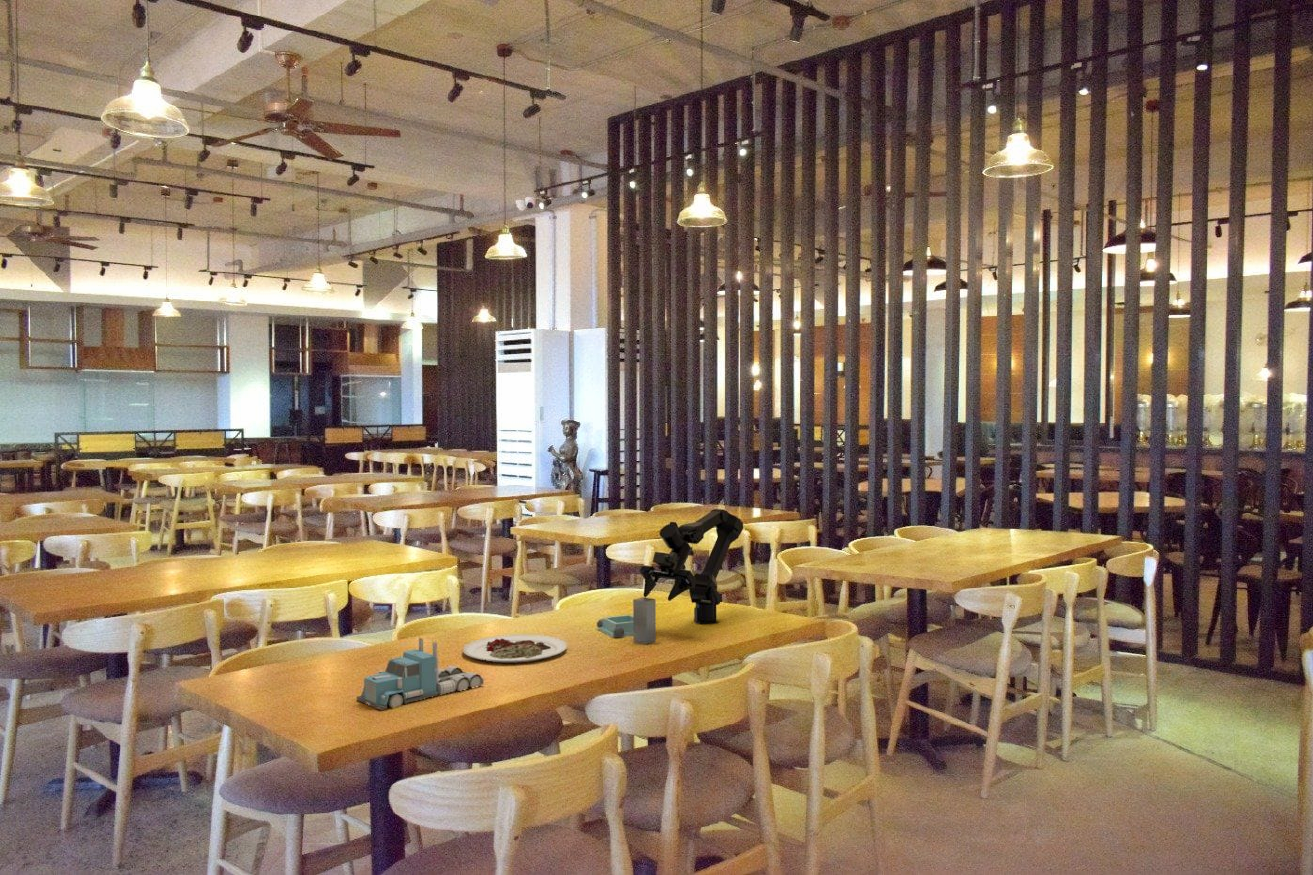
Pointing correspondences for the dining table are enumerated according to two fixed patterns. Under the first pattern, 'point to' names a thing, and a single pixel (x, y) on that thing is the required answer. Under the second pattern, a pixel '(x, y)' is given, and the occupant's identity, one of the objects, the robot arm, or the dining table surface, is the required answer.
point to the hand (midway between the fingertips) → (656, 598)
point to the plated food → (515, 648)
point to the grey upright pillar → (644, 620)
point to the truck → (414, 680)
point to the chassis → (616, 626)
